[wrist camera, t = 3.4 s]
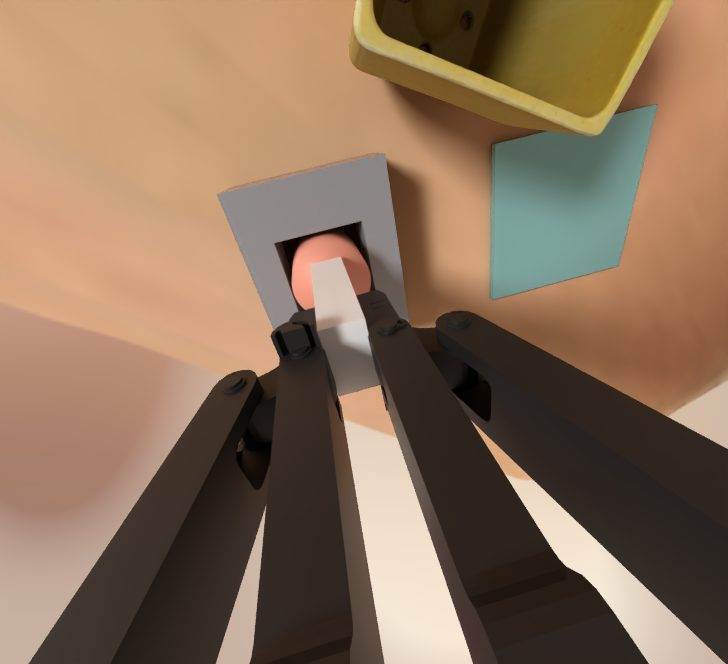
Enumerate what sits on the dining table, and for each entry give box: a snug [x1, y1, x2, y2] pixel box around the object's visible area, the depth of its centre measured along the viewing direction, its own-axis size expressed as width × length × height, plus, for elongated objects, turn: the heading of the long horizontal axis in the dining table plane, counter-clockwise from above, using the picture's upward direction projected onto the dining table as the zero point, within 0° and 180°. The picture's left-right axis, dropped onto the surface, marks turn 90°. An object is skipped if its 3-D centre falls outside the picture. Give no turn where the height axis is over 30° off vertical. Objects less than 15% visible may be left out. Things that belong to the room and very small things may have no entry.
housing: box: [217, 153, 410, 330], centre depth 18 cm, size 10×8×3 cm
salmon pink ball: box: [292, 228, 371, 310], centre depth 17 cm, size 4×4×4 cm
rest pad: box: [490, 104, 658, 300], centre depth 21 cm, size 10×10×1 cm
